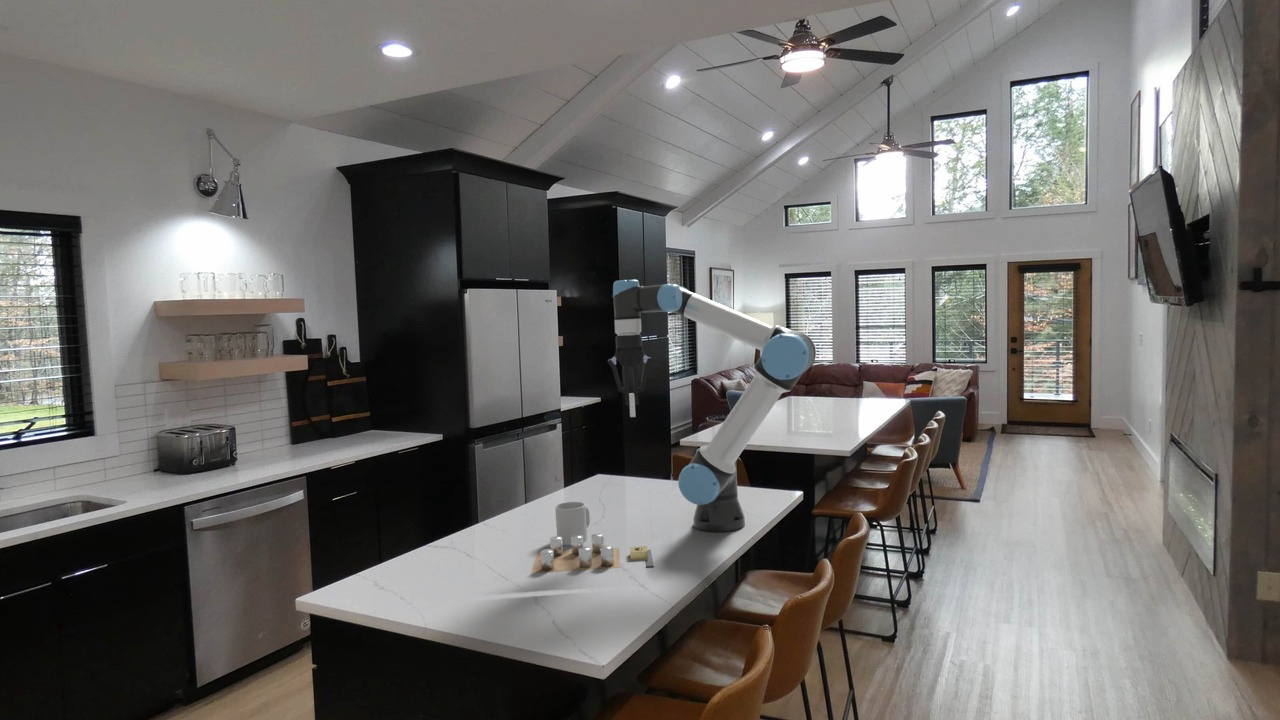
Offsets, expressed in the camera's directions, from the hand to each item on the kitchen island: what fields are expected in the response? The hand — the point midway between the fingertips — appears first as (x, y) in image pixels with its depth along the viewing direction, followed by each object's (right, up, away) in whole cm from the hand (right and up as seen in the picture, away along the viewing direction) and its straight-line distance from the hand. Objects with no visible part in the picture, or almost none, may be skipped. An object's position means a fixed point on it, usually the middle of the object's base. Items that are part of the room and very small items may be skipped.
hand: (632, 416), depth 216 cm
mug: (-16, -36, -3) cm, 39 cm away
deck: (-14, -37, -22) cm, 45 cm away
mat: (+1, -36, -21) cm, 41 cm away
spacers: (-14, -35, -22) cm, 44 cm away
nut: (+2, -35, -21) cm, 41 cm away
